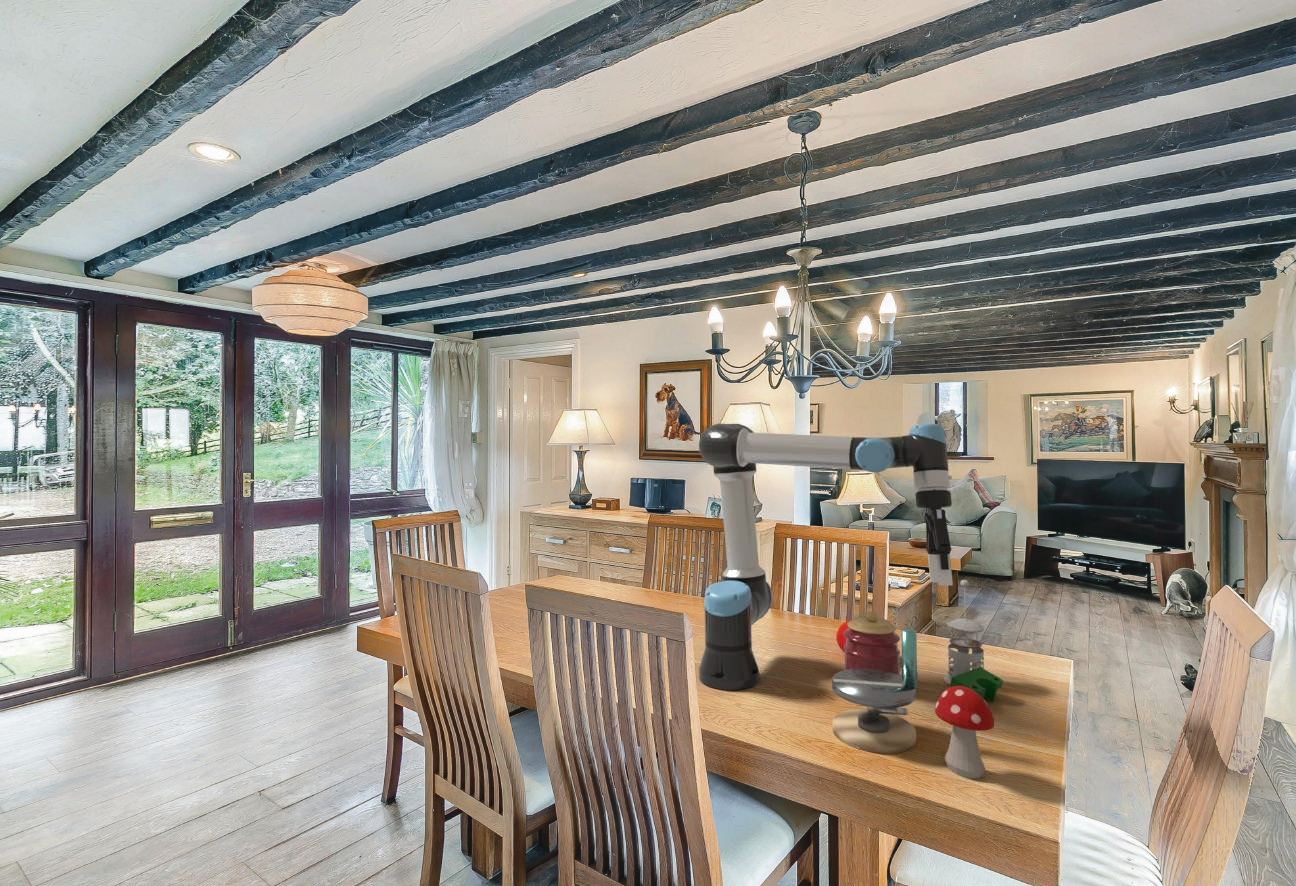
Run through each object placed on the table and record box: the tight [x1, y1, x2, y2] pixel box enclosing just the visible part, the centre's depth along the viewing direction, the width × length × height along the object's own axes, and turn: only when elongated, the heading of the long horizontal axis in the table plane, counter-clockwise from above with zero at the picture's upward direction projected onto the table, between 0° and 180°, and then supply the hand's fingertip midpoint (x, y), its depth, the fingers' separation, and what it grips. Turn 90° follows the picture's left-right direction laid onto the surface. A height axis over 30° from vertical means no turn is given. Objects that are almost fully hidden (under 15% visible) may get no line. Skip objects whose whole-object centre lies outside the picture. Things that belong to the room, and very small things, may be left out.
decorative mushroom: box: [934, 686, 995, 780], centre depth 111 cm, size 10×9×15 cm
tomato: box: [835, 616, 856, 654], centre depth 169 cm, size 13×12×11 cm
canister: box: [844, 611, 901, 676], centre depth 151 cm, size 13×13×18 cm
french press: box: [943, 579, 985, 685], centre depth 152 cm, size 10×12×25 cm
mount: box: [832, 708, 917, 755], centre depth 126 cm, size 16×16×3 cm
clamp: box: [949, 666, 1004, 703], centre depth 140 cm, size 12×6×9 cm, turn 115°
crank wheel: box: [831, 628, 918, 720], centre depth 125 cm, size 16×16×18 cm
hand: (941, 583), depth 140 cm, fingers open, 13 cm apart
